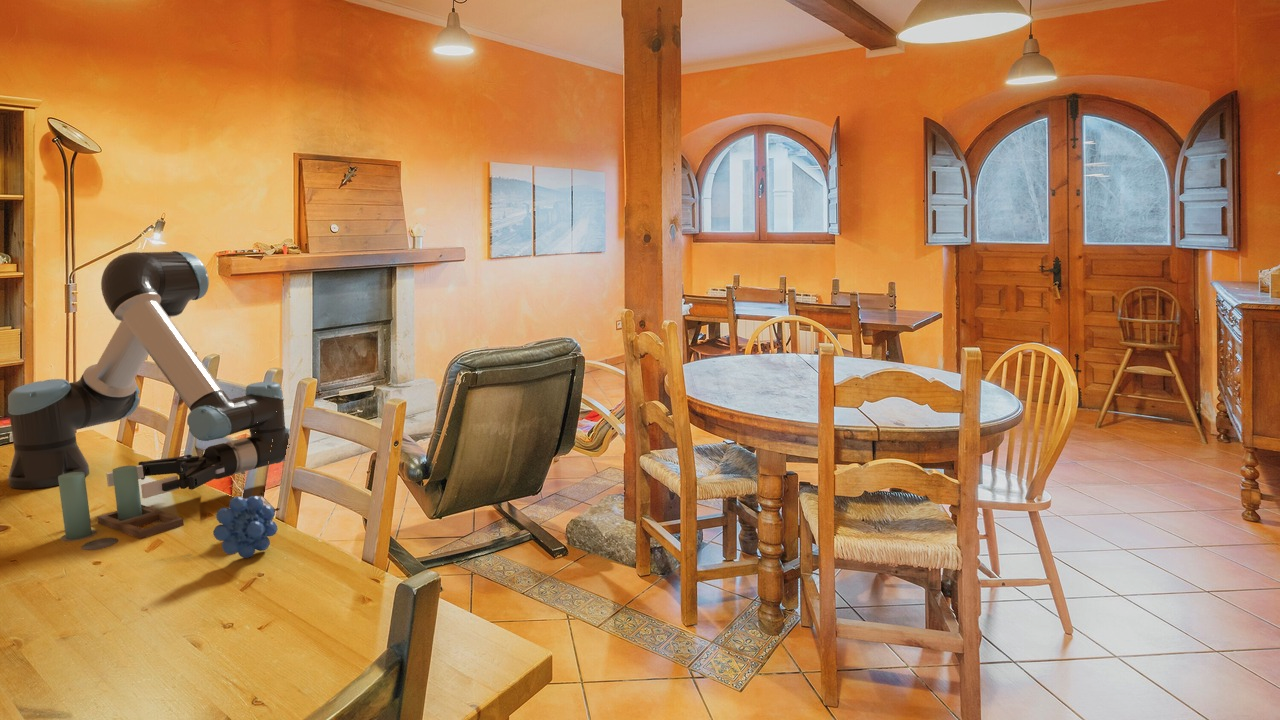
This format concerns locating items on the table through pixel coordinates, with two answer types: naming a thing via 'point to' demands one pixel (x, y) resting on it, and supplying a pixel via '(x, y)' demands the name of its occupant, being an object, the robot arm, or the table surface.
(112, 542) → the pattern plate
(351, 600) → the table surface
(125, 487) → the teal pin
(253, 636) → the table surface
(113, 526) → the brown wooden peg holder
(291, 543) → the table surface
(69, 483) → the pin
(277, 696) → the table surface
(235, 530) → the blue flower wheel
